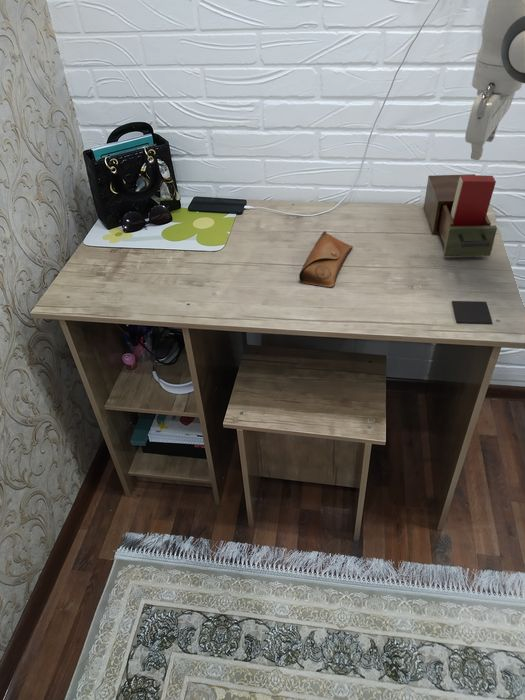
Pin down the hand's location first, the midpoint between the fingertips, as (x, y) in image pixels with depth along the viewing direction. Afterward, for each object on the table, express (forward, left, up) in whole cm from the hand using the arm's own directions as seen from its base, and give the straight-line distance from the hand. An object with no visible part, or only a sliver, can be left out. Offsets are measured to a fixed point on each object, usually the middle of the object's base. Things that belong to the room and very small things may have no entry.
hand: (482, 149), depth 114 cm
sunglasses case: (+26, +15, -27) cm, 41 cm away
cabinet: (+8, -17, -27) cm, 33 cm away
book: (+2, -7, -25) cm, 25 cm away
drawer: (+1, -5, -26) cm, 26 cm away
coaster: (-9, +17, -27) cm, 33 cm away
